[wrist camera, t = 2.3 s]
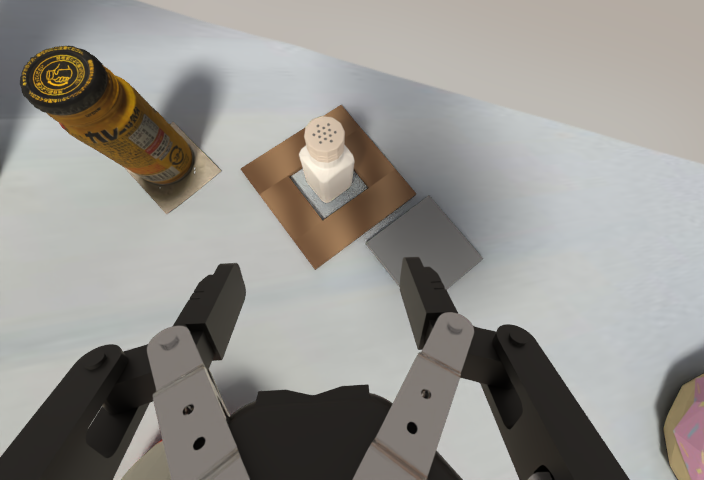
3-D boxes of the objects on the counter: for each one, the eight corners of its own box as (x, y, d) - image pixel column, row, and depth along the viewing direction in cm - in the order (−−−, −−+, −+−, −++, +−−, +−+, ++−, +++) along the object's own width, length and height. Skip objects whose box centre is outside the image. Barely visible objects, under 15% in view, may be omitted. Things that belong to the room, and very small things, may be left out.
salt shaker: (304, 180, 30) (288, 129, 21) (331, 160, 31) (328, 102, 21) (326, 206, 30) (320, 166, 20) (353, 186, 30) (360, 137, 21)
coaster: (418, 311, 28) (420, 311, 27) (365, 243, 29) (366, 242, 28) (480, 259, 29) (483, 258, 29) (427, 197, 30) (429, 195, 30)
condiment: (174, 122, 31) (72, 17, 19) (221, 171, 30) (146, 91, 18) (120, 162, 30) (-25, 75, 18) (168, 215, 29) (49, 159, 17)
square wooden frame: (315, 269, 28) (314, 269, 28) (241, 170, 30) (240, 168, 29) (415, 195, 30) (416, 193, 30) (341, 107, 32) (341, 104, 32)
